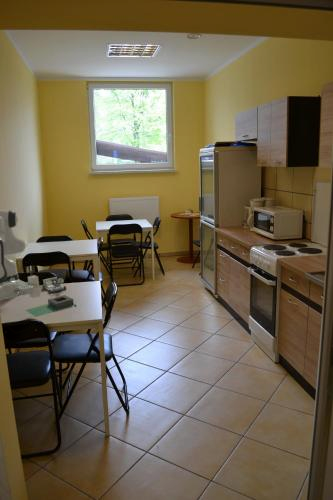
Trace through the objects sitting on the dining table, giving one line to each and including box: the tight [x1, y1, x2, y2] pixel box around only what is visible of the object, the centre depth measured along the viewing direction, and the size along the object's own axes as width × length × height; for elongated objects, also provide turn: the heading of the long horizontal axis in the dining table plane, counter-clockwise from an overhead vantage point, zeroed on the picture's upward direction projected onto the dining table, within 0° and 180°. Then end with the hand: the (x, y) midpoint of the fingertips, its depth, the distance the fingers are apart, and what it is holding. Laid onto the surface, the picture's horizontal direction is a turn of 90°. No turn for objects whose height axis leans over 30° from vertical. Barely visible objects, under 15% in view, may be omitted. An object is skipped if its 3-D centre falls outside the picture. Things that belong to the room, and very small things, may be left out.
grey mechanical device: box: [41, 276, 67, 294], centre depth 280 cm, size 18×10×12 cm
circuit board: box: [25, 303, 77, 317], centre depth 243 cm, size 15×26×1 cm, turn 131°
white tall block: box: [27, 269, 41, 299], centre depth 234 cm, size 4×4×16 cm
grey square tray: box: [47, 294, 75, 309], centre depth 247 cm, size 11×11×4 cm
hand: (35, 284), depth 234 cm, fingers closed on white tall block, 4 cm apart
